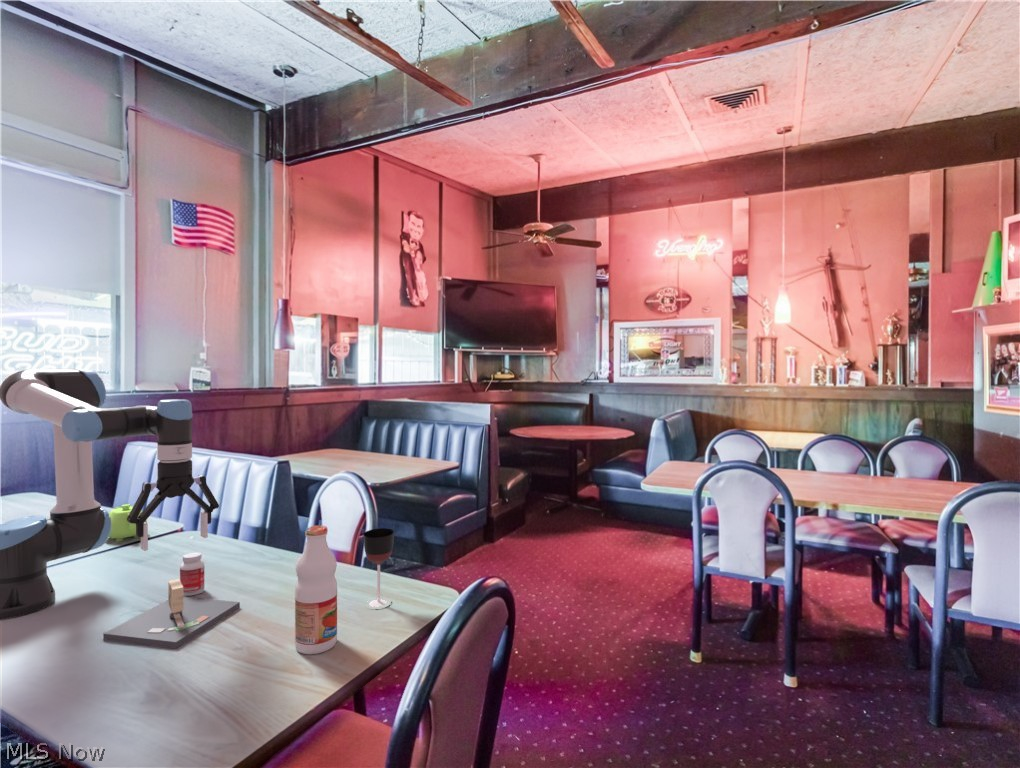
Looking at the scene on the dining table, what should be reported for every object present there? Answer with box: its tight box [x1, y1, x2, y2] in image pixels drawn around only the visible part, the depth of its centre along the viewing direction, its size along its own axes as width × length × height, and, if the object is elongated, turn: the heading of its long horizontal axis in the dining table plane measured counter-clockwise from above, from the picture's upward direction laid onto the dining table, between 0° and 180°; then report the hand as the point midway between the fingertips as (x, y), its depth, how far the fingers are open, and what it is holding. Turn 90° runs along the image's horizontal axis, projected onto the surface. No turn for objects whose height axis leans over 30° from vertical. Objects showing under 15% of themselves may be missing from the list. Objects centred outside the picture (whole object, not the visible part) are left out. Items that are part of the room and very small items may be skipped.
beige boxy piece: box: [167, 578, 184, 628], centre depth 135 cm, size 12×3×8 cm, turn 39°
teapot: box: [108, 503, 148, 543], centre depth 206 cm, size 20×13×13 cm
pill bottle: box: [179, 551, 205, 597], centre depth 156 cm, size 6×6×11 cm
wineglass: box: [363, 527, 395, 607], centre depth 150 cm, size 8×9×20 cm
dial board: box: [102, 596, 241, 649], centre depth 138 cm, size 20×22×2 cm
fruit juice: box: [294, 525, 338, 655], centre depth 127 cm, size 9×9×28 cm
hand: (175, 542), depth 137 cm, fingers open, 13 cm apart
